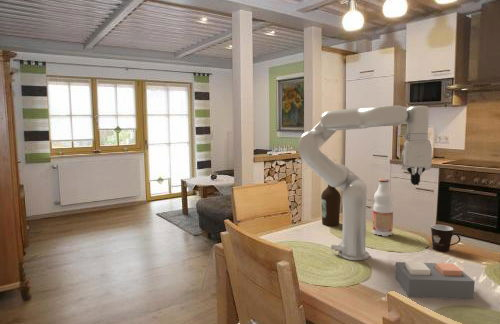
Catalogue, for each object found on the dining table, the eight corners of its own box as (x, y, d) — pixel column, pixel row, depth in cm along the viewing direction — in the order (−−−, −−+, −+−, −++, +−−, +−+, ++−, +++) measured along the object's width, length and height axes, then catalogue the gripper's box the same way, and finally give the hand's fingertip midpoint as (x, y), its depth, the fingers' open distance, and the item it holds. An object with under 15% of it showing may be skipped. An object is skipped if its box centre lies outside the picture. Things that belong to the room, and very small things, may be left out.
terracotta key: (442, 283, 116) (442, 270, 115) (434, 275, 122) (435, 263, 121) (461, 283, 115) (462, 270, 115) (452, 275, 121) (453, 263, 121)
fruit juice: (381, 237, 171) (383, 181, 168) (368, 232, 179) (370, 178, 176) (396, 235, 174) (398, 180, 171) (383, 230, 183) (384, 177, 180)
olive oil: (336, 220, 201) (337, 178, 198) (343, 226, 190) (343, 181, 187) (318, 221, 200) (319, 178, 197) (324, 227, 189) (324, 181, 186)
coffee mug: (425, 246, 158) (426, 225, 157) (443, 245, 159) (444, 224, 158) (442, 256, 147) (443, 233, 146) (461, 255, 148) (462, 232, 146)
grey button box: (408, 296, 113) (409, 279, 113) (395, 277, 127) (395, 262, 127) (473, 299, 111) (474, 281, 111) (452, 279, 125) (453, 263, 125)
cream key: (411, 282, 117) (411, 269, 116) (404, 274, 123) (405, 262, 122) (429, 282, 116) (430, 269, 116) (422, 275, 122) (423, 262, 122)
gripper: (400, 138, 132) (398, 186, 134) (441, 138, 131) (439, 186, 133) (394, 137, 140) (392, 182, 142) (433, 137, 138) (430, 182, 140)
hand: (415, 184), depth 137 cm, fingers closed
